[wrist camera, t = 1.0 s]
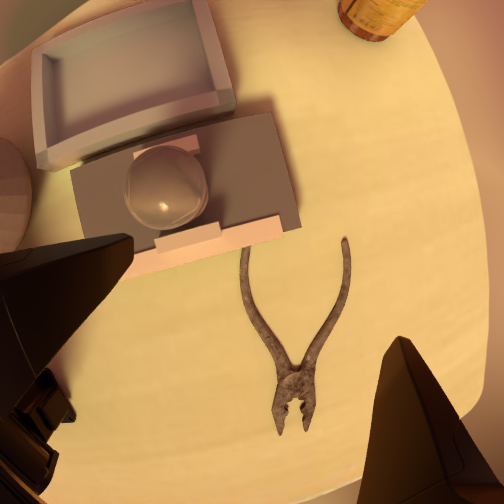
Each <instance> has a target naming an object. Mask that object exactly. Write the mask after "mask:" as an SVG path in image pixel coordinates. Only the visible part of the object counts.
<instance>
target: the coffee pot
mask: <svg viewBox="0 0 504 504" xmlns="http://www.w3.org/2000/svg"><path fill="white" fill-rule="evenodd" d="M31 204H32V187H31V178H30V175H29V171H28V167H27V165H26V163H25V161H24V159H23V157H22V155H21V154H20V152H19V150H18V149H17V148H16V147H15V146H14V145H13V144H12V143H11V142H10V141H8V140H6V139H3V138H0V253H7V252H14V250H15V249H16V248H17V247H18V245H19V244H20V242H21V240H22V238H23V236H24V234H25V231H26V229H27V225H28V221H29V218H30V214H31Z"/></svg>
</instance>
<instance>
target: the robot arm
mask: <svg viewBox="0 0 504 504" xmlns="http://www.w3.org/2000/svg"><path fill="white" fill-rule="evenodd" d="M133 260H134V238H133V236H131V235H128V234H126V233H117V234H111V235H105V236H98V237H92V238H86V239H80V240H75V241H69V242H63V243H58V244H52V245H46V246H41V247H36V248H34V249H33V248H30V249H25V250H19V251H14V252H7V253H0V504H47V503H46V502H45V501H43V500H42V499H41V498H40V497H39V495H40V494H41V493H42V492H43V491H44V490H45V489H46V488H47V486H48V485H49V483H50V481H51V479H52V477H53V474H54V470H55V467H56V463H57V460H58V457H59V453H58V452H57V451H56V450H53V449H52V448H51V447H50V446H49V445H48V444H47V442H48V440H49V438H50V437H51V435H52V434H53V432H54V431H55V430H56V429H57V428H58V426H59V425H60V423H73V422H75V420H76V416H75V415H74V413H73V411H72V410H71V408H70V406H69V404H68V403H67V401H66V399H65V397H64V395H63V394H62V392H61V390H60V388H59V386H58V384H57V382H56V380H55V378H54V376H53V374H52V372H51V371H50V369H48V368H45V367H46V366H47V365H48V363H49V362H50V361H51V360H52V358H53V357H54V356H55V355H56V354H57V352H58V351H59V350H60V349H61V348H62V346H63V345H64V344H65V343H66V342H67V341H68V339H69V338H70V337H71V336H72V335H73V334H74V332H75V331H76V330H77V329H78V328H79V327H80V326H81V324H82V323H83V322H84V321H85V320H86V319H87V318H88V316H89V315H90V314H91V313H92V312H93V311H94V310H95V309H96V308H97V306H98V305H99V304H100V303H101V302H102V301H103V300H104V299H105V298H106V296H107V295H108V294H109V293H110V292H111V290H112V289H113V288H114V286H115V285H116V284H117V282H118V281H119V280H120V278H121V277H122V276H123V275H124V273H125V272H126V271H127V269H128V268H129V267H130V265H131V264H132V262H133ZM46 372H47V373H48V374H47V373H46ZM357 504H504V486H503V485H502V484H501V483H500V482H499V480H498V479H497V478H496V476H495V474H494V473H493V471H492V469H491V468H490V466H489V465H488V463H487V462H486V460H485V459H484V457H483V456H482V454H481V452H480V451H479V449H478V448H477V446H476V445H475V443H474V441H473V440H472V438H471V436H470V435H469V433H468V431H467V430H466V428H465V426H464V424H463V423H462V421H461V420H459V416H458V414H457V412H456V411H455V409H454V407H453V406H452V404H451V402H450V401H449V399H448V398H447V396H446V394H445V393H444V391H443V389H442V388H441V386H440V385H439V383H438V381H437V380H436V378H435V377H434V375H433V374H432V372H431V370H430V369H429V367H428V366H427V364H426V363H425V361H424V360H423V358H422V357H421V355H420V354H419V352H418V351H417V349H416V348H415V346H414V345H413V343H412V342H411V340H410V339H408V338H405V337H402V336H397V337H396V338H395V340H394V341H393V342H392V344H391V345H390V347H389V348H388V350H387V351H386V353H385V354H384V357H383V360H382V365H381V370H380V375H379V380H378V385H377V390H376V394H375V399H374V406H373V414H372V422H371V429H370V436H369V443H368V449H367V455H366V461H365V466H364V472H363V477H362V482H361V486H360V491H359V495H358V500H357Z"/></svg>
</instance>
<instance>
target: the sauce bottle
mask: <svg viewBox="0 0 504 504" xmlns="http://www.w3.org/2000/svg"><path fill="white" fill-rule="evenodd" d="M427 1H428V0H341V2H340V4H339V8H338V9H339V11H338V12H339V16H340V18H341V21H342V23H343V24H344V25H345V26H346V27H347V29H349V30H350V31H351V32H353V33H354V34H355V35H356V36H358V37H360V38H362V39H365V40H367V41H374V42H376V41H378V42H379V41H383V40H385V39H386V38H387V37H389V36H390V35H392V34H394V33H395V32H396V31H397V30H398V29H399V28H400V27H401V26H402V25H403V24H404V23H405V22H406V21H408V20H409V19H410V18H411V17H412V16H413V15H414V14H415V13H416V12H417V11H418V10H419V9H420V8H421V7H422V6H423V5H424V4H425V3H426V2H427Z"/></svg>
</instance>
